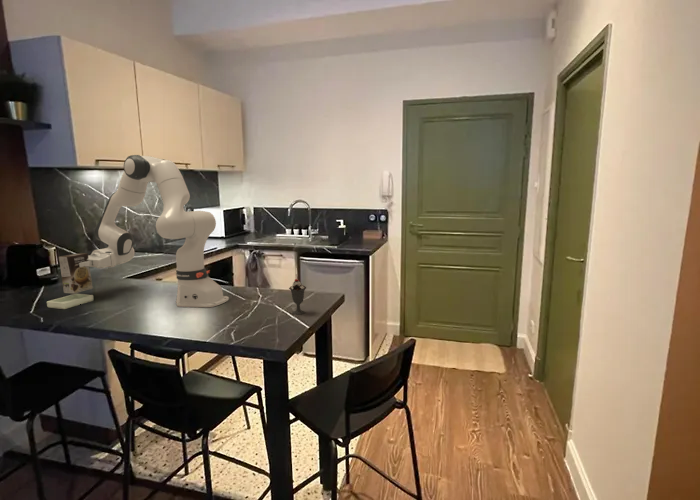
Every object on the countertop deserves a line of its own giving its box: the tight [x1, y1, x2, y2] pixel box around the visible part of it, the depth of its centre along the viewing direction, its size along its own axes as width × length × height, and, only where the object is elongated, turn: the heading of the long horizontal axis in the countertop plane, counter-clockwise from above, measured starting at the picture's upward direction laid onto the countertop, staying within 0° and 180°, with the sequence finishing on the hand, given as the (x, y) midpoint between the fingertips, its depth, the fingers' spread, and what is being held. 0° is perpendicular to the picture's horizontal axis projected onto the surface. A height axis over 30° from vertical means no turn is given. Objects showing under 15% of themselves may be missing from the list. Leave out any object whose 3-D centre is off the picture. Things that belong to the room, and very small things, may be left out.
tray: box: [46, 293, 94, 310], centre depth 179 cm, size 10×13×2 cm
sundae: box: [288, 274, 307, 316], centre depth 161 cm, size 7×7×15 cm
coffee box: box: [58, 252, 94, 295], centre depth 180 cm, size 9×6×16 cm
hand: (72, 264), depth 178 cm, fingers closed on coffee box, 6 cm apart
